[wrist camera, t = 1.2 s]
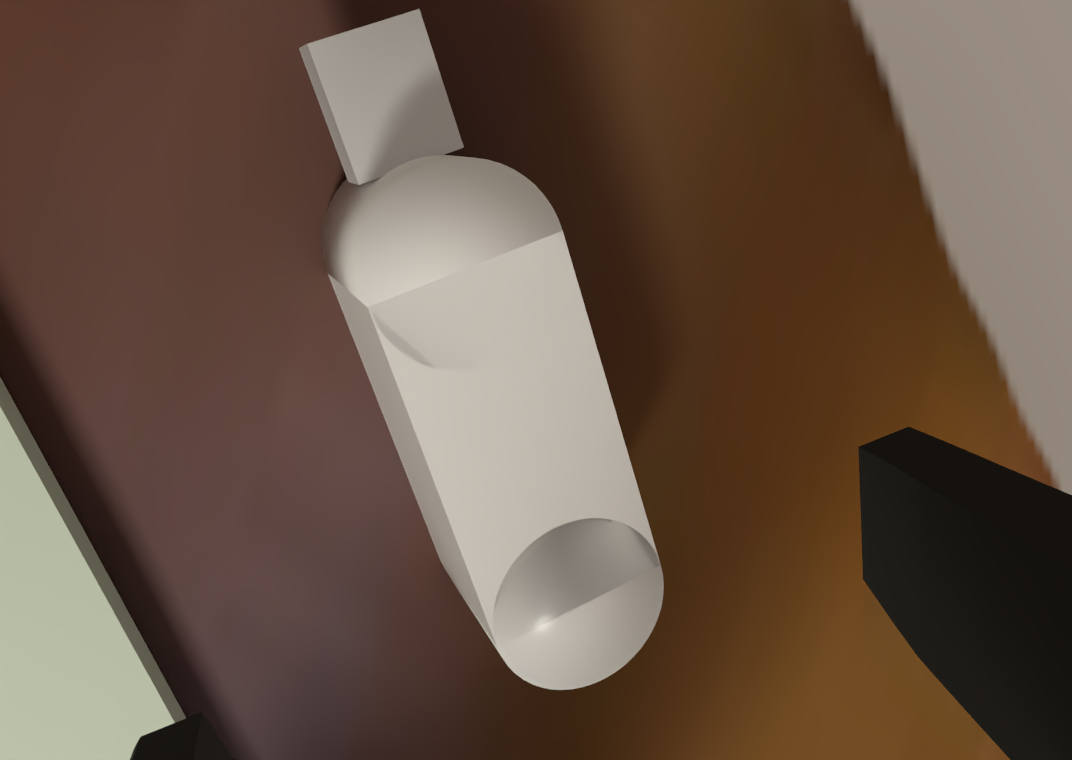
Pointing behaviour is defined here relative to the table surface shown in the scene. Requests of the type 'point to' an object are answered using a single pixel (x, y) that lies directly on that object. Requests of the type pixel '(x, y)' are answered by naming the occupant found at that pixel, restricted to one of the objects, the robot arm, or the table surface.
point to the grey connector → (483, 366)
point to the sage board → (64, 625)
